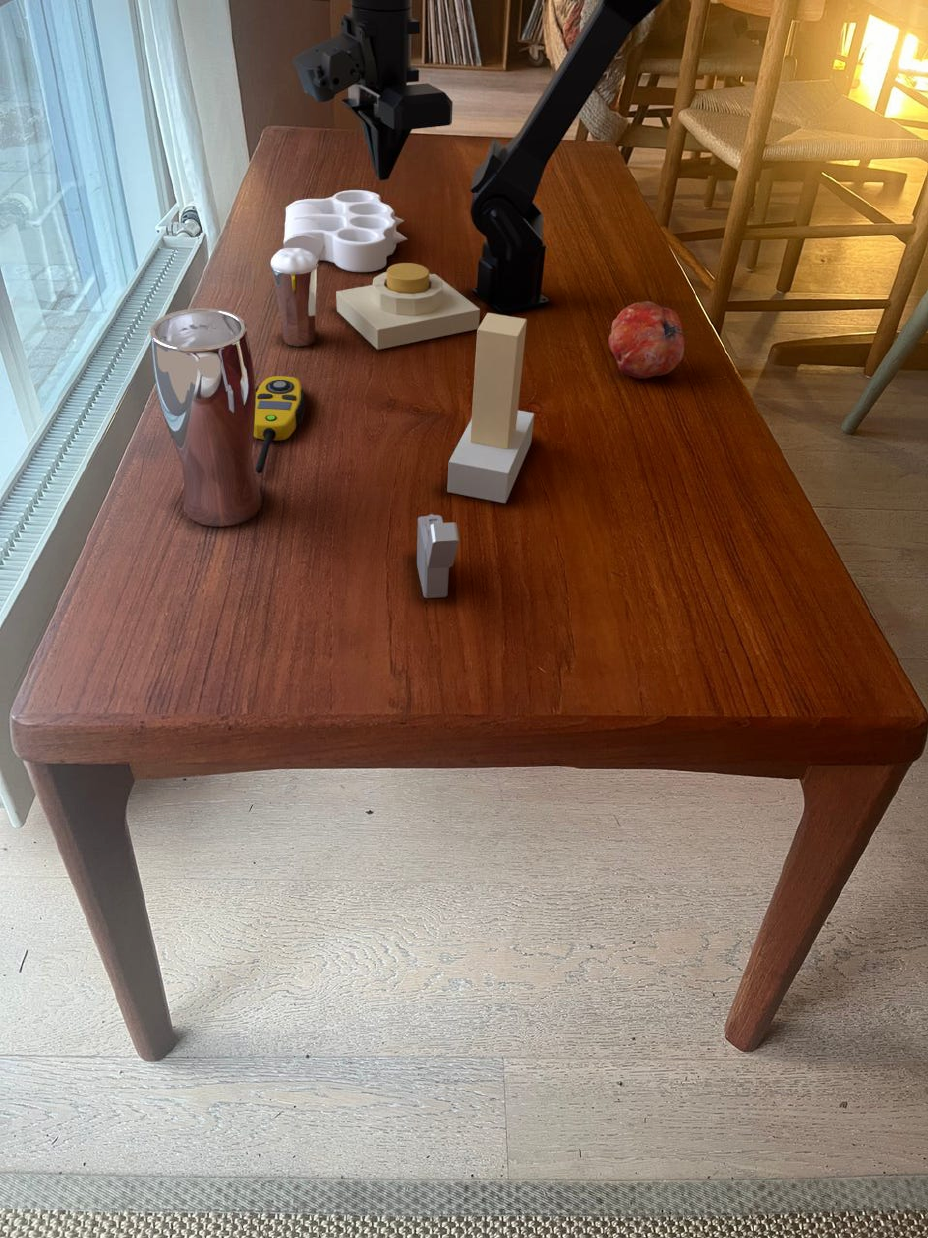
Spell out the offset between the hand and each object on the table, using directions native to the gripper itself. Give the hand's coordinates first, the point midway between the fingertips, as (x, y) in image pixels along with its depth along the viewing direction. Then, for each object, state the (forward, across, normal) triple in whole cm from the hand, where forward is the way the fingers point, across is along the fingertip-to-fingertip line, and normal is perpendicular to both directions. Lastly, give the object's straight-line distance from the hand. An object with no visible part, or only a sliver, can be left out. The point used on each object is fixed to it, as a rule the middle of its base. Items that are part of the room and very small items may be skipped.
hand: (382, 178), depth 102 cm
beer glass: (+12, +32, -30) cm, 46 cm away
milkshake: (+12, +8, -13) cm, 20 cm away
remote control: (+12, +23, -22) cm, 35 cm away
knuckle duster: (+12, -14, +2) cm, 19 cm away
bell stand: (+12, +8, -1) cm, 14 cm away
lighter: (+12, +49, -20) cm, 54 cm away
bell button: (+8, +8, -1) cm, 12 cm away
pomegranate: (+12, +28, +15) cm, 34 cm away
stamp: (+12, +36, -8) cm, 39 cm away
